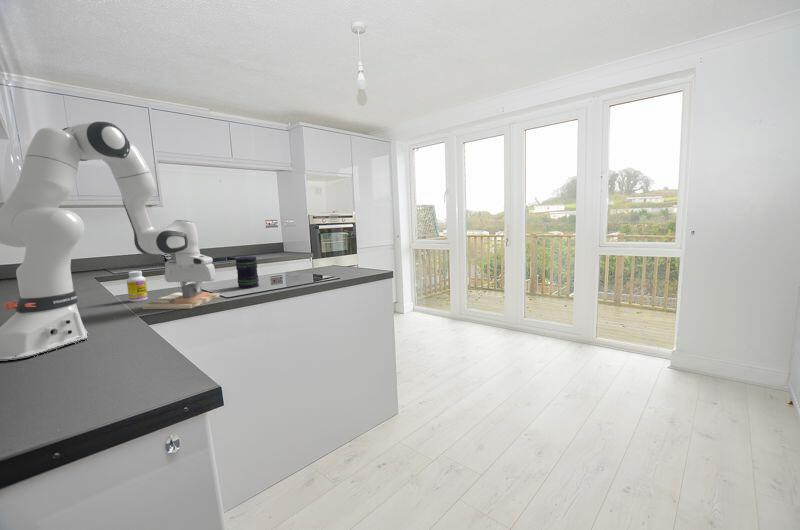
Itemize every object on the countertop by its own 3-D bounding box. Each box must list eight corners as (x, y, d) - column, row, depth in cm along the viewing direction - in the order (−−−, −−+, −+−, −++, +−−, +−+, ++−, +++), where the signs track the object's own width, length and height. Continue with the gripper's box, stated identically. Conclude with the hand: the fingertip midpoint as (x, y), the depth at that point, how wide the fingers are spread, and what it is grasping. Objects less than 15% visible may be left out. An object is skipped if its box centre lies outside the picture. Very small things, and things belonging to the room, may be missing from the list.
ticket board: (190, 308, 138) (189, 301, 137) (142, 309, 139) (141, 302, 139) (219, 296, 157) (218, 290, 157) (177, 297, 159) (176, 291, 158)
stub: (188, 302, 141) (187, 287, 140) (174, 302, 141) (172, 287, 140) (209, 294, 154) (208, 281, 154) (196, 294, 155) (195, 281, 154)
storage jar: (239, 285, 181) (236, 257, 179) (259, 284, 184) (257, 256, 182) (236, 289, 172) (233, 259, 170) (258, 287, 175) (255, 258, 173)
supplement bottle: (138, 302, 151) (134, 273, 149) (125, 302, 152) (121, 272, 150) (151, 298, 157) (148, 270, 155) (139, 298, 159) (135, 270, 157)
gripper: (158, 261, 143) (163, 294, 145) (207, 260, 142) (210, 293, 144) (169, 259, 149) (173, 290, 151) (216, 258, 148) (219, 290, 150)
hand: (192, 292), depth 147 cm, fingers closed on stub, 3 cm apart
